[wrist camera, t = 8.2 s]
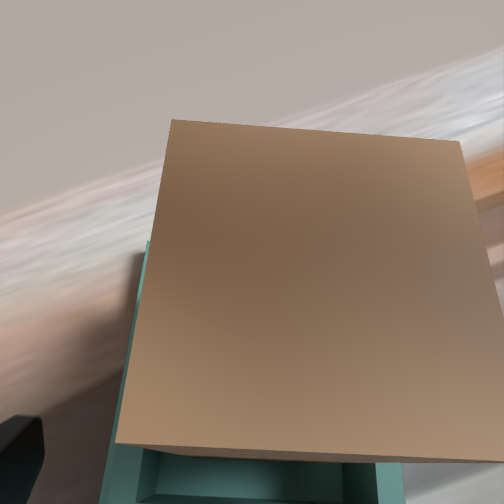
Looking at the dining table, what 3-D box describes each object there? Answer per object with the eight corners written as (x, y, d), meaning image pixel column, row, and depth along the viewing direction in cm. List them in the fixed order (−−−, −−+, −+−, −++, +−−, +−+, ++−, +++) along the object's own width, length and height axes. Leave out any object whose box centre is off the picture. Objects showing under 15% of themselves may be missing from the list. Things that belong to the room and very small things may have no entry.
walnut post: (310, 462, 16) (538, 462, 4) (193, 457, 16) (115, 442, 4) (307, 347, 18) (459, 141, 6) (204, 341, 18) (171, 119, 6)
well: (396, 617, 15) (471, 683, 10) (86, 604, 14) (26, 668, 10) (365, 265, 21) (403, 212, 17) (150, 250, 21) (131, 192, 16)
